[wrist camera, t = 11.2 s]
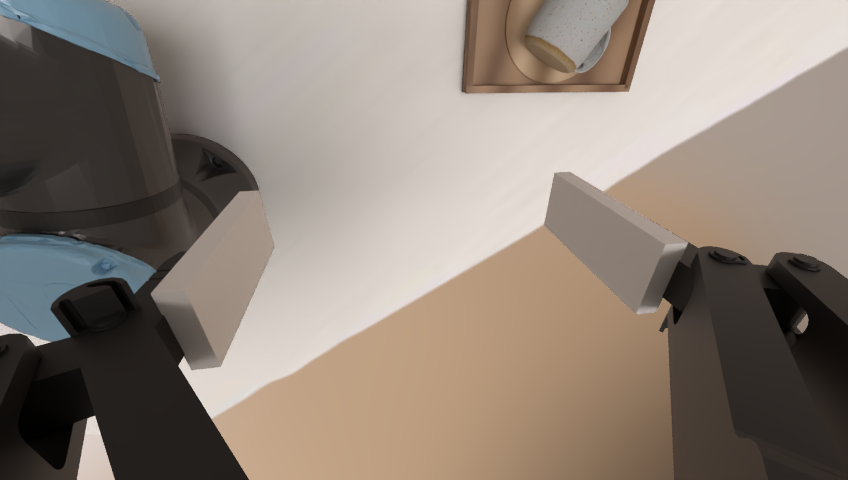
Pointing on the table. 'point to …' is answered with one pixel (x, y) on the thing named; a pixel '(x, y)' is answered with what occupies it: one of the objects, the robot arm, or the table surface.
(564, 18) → the ceramic mug
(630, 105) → the table surface
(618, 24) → the tray
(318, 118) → the table surface
